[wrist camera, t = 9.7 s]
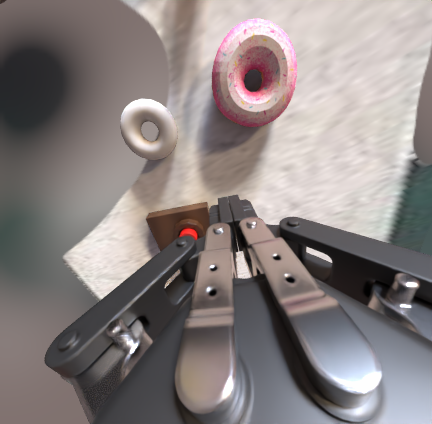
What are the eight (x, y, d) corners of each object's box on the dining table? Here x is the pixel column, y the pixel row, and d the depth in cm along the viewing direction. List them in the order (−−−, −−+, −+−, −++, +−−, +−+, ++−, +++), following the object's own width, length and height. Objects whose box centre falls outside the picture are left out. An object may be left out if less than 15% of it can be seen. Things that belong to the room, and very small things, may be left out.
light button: (182, 243, 41) (181, 249, 39) (177, 229, 39) (176, 235, 37) (199, 240, 40) (198, 246, 39) (195, 226, 38) (194, 231, 37)
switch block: (164, 248, 46) (160, 260, 42) (149, 212, 41) (143, 222, 37) (216, 238, 45) (216, 250, 41) (207, 201, 40) (207, 210, 36)
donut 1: (146, 165, 36) (188, 145, 34) (140, 170, 33) (186, 147, 31) (113, 115, 31) (160, 88, 30) (103, 115, 28) (155, 85, 27)
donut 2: (210, 28, 26) (211, 10, 22) (296, 29, 27) (314, 11, 23) (212, 126, 33) (212, 127, 28) (281, 126, 33) (292, 127, 29)
